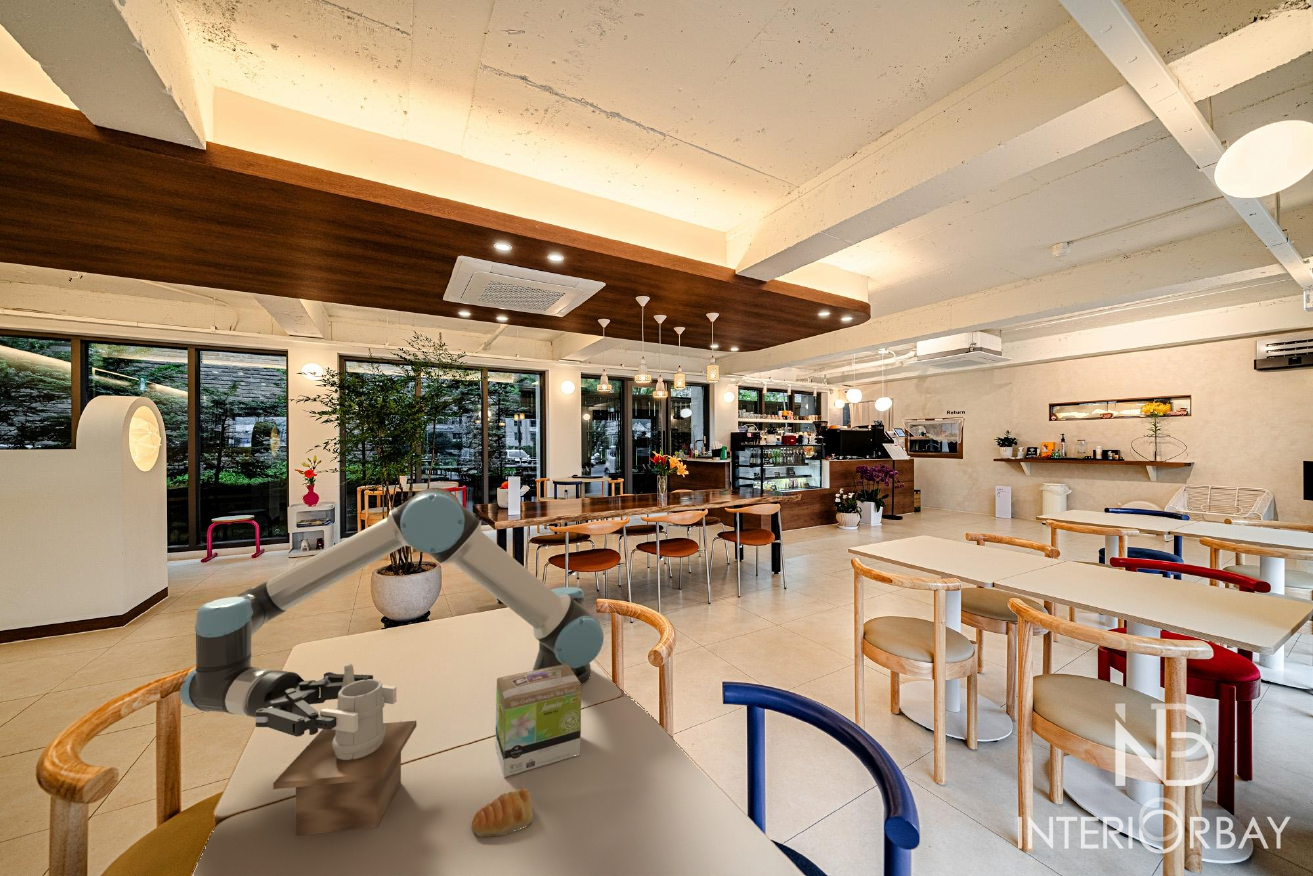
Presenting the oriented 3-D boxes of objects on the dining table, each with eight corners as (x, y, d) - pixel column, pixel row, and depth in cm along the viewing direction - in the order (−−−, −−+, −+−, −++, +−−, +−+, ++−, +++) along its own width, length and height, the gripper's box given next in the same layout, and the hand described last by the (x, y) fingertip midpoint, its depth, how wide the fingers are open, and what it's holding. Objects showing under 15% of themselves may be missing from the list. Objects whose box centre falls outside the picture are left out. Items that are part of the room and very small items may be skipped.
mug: (341, 768, 75) (343, 691, 75) (317, 738, 82) (319, 669, 83) (393, 745, 81) (394, 674, 81) (366, 719, 88) (367, 654, 88)
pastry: (475, 850, 73) (475, 825, 73) (469, 820, 78) (469, 796, 78) (536, 826, 77) (536, 802, 77) (526, 799, 83) (526, 777, 83)
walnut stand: (416, 773, 89) (416, 720, 89) (384, 835, 75) (384, 772, 75) (323, 782, 87) (323, 727, 87) (273, 848, 73) (273, 782, 73)
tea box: (503, 781, 87) (503, 700, 87) (495, 749, 96) (495, 676, 96) (582, 756, 94) (582, 681, 94) (567, 728, 103) (567, 660, 103)
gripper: (318, 685, 95) (418, 698, 90) (201, 751, 75) (321, 772, 70) (318, 647, 95) (418, 658, 90) (201, 703, 75) (322, 721, 70)
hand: (376, 708), depth 80 cm, fingers open, 8 cm apart
